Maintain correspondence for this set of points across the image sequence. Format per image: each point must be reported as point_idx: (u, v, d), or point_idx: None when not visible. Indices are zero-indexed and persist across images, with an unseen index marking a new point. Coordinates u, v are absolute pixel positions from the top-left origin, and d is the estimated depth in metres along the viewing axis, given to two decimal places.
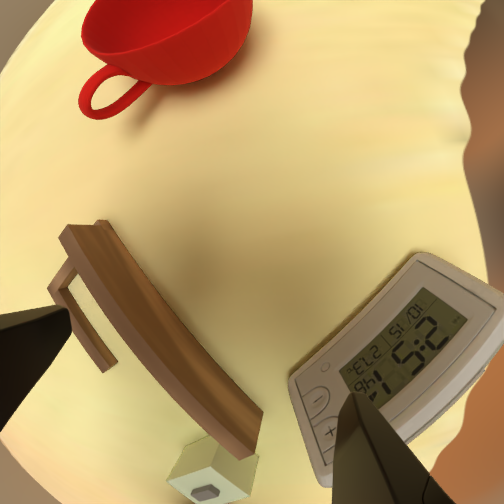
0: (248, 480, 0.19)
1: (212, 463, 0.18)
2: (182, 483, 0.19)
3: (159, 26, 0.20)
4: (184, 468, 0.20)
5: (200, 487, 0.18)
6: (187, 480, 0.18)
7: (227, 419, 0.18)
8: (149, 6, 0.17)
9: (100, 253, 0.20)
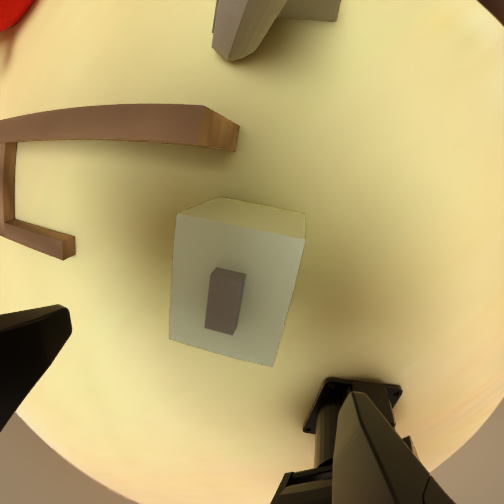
0: (289, 226, 0.12)
1: (182, 212, 0.11)
2: (186, 317, 0.12)
3: None
4: None
5: None
6: (183, 298, 0.12)
7: None
8: None
9: None
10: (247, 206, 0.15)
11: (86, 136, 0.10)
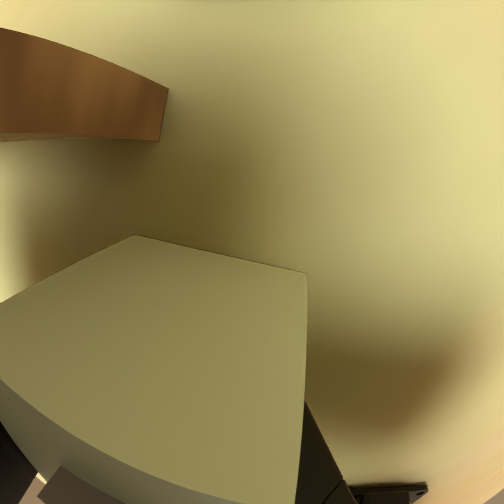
0: (252, 384, 0.03)
1: None
2: None
3: None
4: None
5: None
6: (43, 470, 0.03)
7: None
8: None
9: None
10: (170, 268, 0.06)
11: None
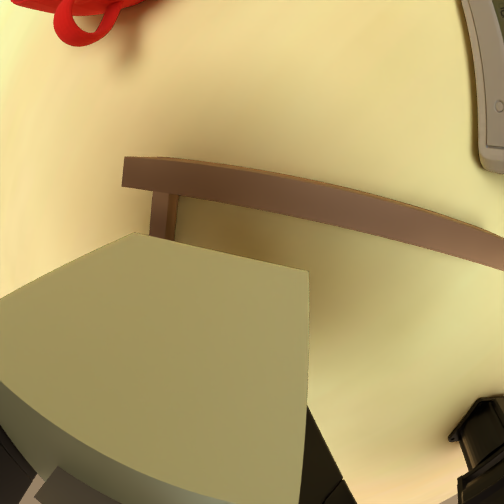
0: (253, 383, 0.03)
1: None
2: None
3: None
4: None
5: None
6: (40, 470, 0.03)
7: (487, 233, 0.11)
8: None
9: (194, 162, 0.14)
10: (170, 265, 0.06)
11: (457, 255, 0.11)
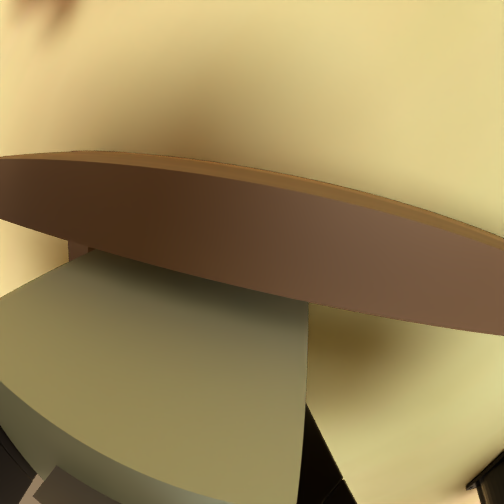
0: (252, 382, 0.03)
1: None
2: None
3: None
4: None
5: None
6: (40, 470, 0.03)
7: None
8: None
9: (96, 156, 0.06)
10: None
11: None
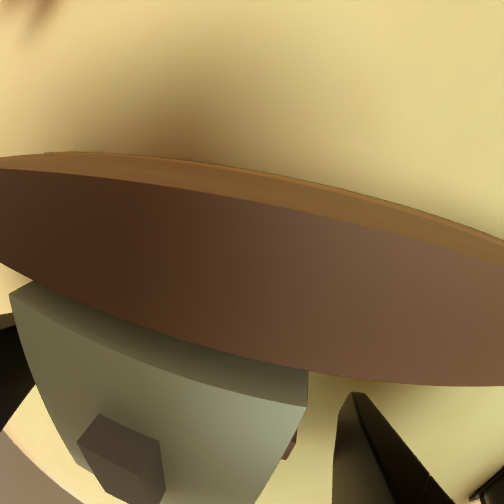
0: None
1: (28, 285, 0.04)
2: None
3: None
4: None
5: None
6: (70, 433, 0.05)
7: None
8: None
9: (53, 159, 0.05)
10: None
11: None
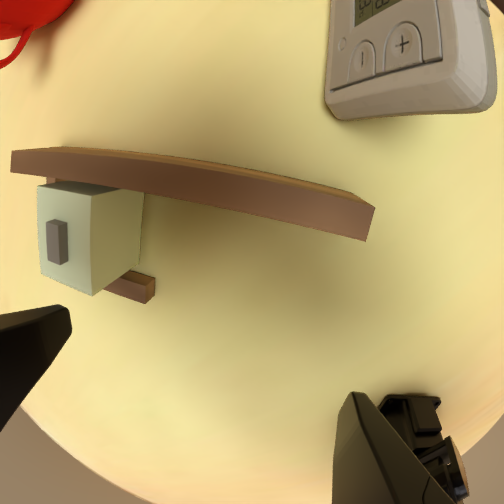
0: (100, 190, 0.15)
1: (43, 185, 0.14)
2: (46, 256, 0.15)
3: None
4: None
5: None
6: (43, 242, 0.15)
7: (298, 185, 0.12)
8: None
9: None
10: None
11: (236, 209, 0.12)
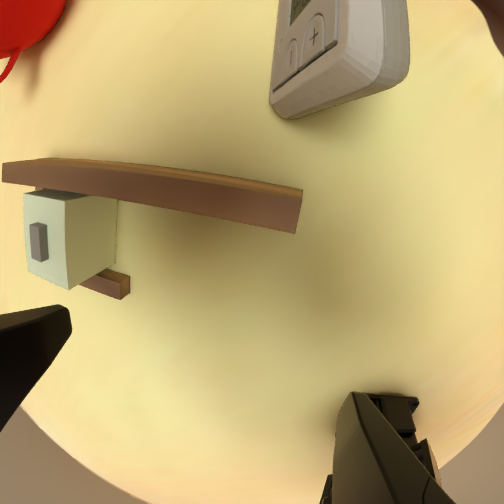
0: (75, 196, 0.16)
1: None
2: None
3: None
4: None
5: None
6: (29, 243, 0.16)
7: (232, 184, 0.13)
8: None
9: (38, 161, 0.16)
10: None
11: (175, 208, 0.13)
